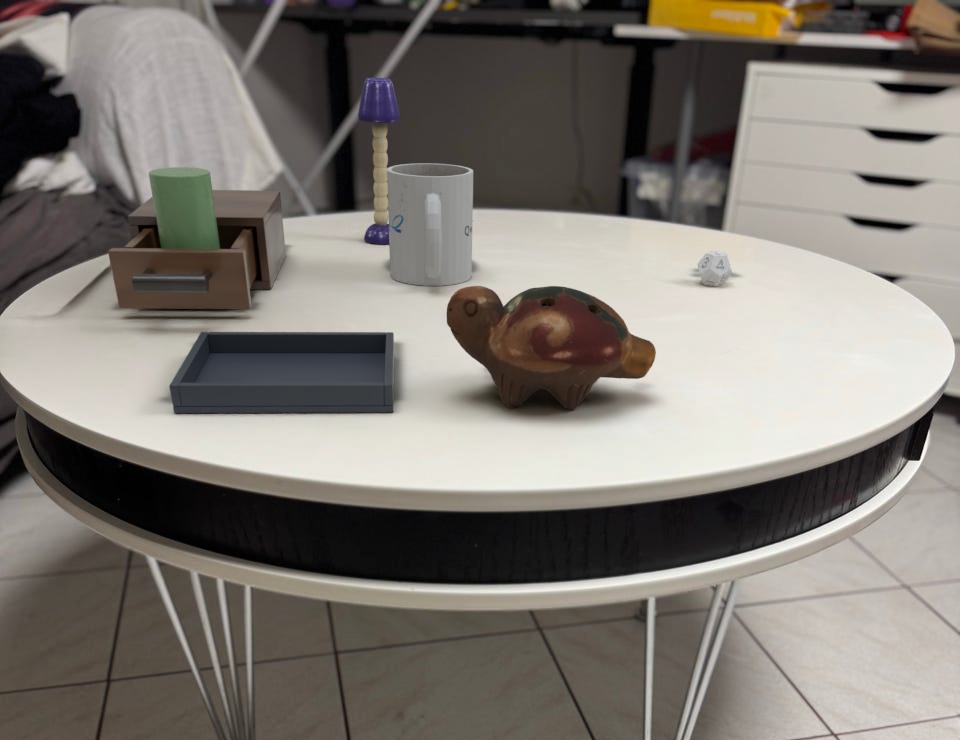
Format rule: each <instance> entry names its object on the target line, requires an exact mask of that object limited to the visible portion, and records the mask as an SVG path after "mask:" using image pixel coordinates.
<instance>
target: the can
mask: <svg viewBox="0 0 960 740" xmlns="http://www.w3.org/2000/svg"><path fill="white" fill-rule="evenodd" d="M148 178H149V184H150V191H151V195H152V196H153V202H154V208H155V214H156V220H157V226H158V232H159V238H160V244H161V249H220V244H219V236H218V229H217V221H216V214H215V206H214V199H213V191H212V190H213V184H212V178H211V172H210V170H208V169H206V168H200V167H185V166H182V167H180V166H179V167H178V166H177V167H174V166H173V167H162V168H156V169H153V170H149V172H148ZM152 196H151V197H152Z"/></svg>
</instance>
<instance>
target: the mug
mask: <svg viewBox="0 0 960 740" xmlns="http://www.w3.org/2000/svg"><path fill="white" fill-rule="evenodd" d="M387 186H388V194H387V198H388V208H387V213H388V224H389V244H388V246H389V248H388V249H389V275H390V277H391V279H393V280H395V281H397V282H400V283H402V284H403V283H404V284H408V285H415V286H426V287H436V286H437V287H440V286H441V287H442V286H451V285H457V284H462V283H465V282H467V281H470V280H471V279H472V277H473V275H472V272H473V270H472V269H473V267H472V266H473V223H474V221H473V218H474V217H473V216H474V215H473V213H474V170H473V169H472V168H471V167H468V166H463V165H456V164H449V163H448V164H447V163H433V162H432V163H429V162H428V163H426V162H425V163H423V162H422V163H421V162H420V163H419V162H418V163H404V164H396V165H392V166H389V167H387Z"/></svg>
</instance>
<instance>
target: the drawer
mask: <svg viewBox="0 0 960 740" xmlns="http://www.w3.org/2000/svg"><path fill="white" fill-rule="evenodd" d="M217 229H218V236H219V244H220V249H161V244H160V238H159V232H158V226H157V225H148V226H147V227H146V228H145V229H143V230H142V231H141V232H140V233H139V234H138V235H137V236H136V237H135V238H134V239H132V238H131V240H130V241H129V242H128V243H127V244H126V245H125V246H123V247H112V248H110V249H109V250H108V251H107V255H108V258H109V263H110V269H111V273H112V278H113V283H114V288H115V293H116V298H117V303H118V308H119V309H142V310H143V309H154V310H155V309H156V310H157V309H158V310H159V309H161V310H164V309H166V310H167V309H169V310H170V309H171V310H172V309H175V310H176V309H178V310H179V309H180V310H181V309H182V310H186V309H187V310H190V309H191V310H217V309H218V310H250V309H251V307H252V297H251V289H250V287H251V285H252V283H253V281H254V279H255V278H256V276H257V274H258V272H259V270H260V262H259V252H258V243H257V234H256V226H217Z"/></svg>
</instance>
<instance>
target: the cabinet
mask: <svg viewBox="0 0 960 740" xmlns="http://www.w3.org/2000/svg"><path fill="white" fill-rule="evenodd" d="M212 191H213V199H214V206H215V214H216V221H217V226H256V234H257V243H258V252H259V262H260V270H259V272H258V274H257V276H256V278H255V279H254V281H253V283H252V285H251V287H250V290H272V288H273V286H274V283H275V280H276V279H277V276H278V274H279V272H280V269H281V267H282V265H283V264H284V261H285V258H286V256H287V251H286V241H285V240H286V239H285V231H284V230H285V229H284V219H283V209H282V200H281V199H282V198H281V197H282V196H281V191H280V190H253V189H252V190H250V189H249V190H247V189H246V190H245V189H244V190H242V189H237V190H236V189H212ZM127 220H128V225H129V230H130V236H131V240H132V239H134V238H135V237H136V236H137V235H138V234H139V233H140V232H141V231H142V230H143V229H145V228H146V227H147V226H148V225H157V220H156V214H155V208H154V202H153V196H151V197H150V198H149V199H147V200H146V201H145V202H143V203H142V204H141V205H139V206H138V207H137V208H136V209H135V210H134V211H132V212H131V213H130V214H129V215H127Z"/></svg>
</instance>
